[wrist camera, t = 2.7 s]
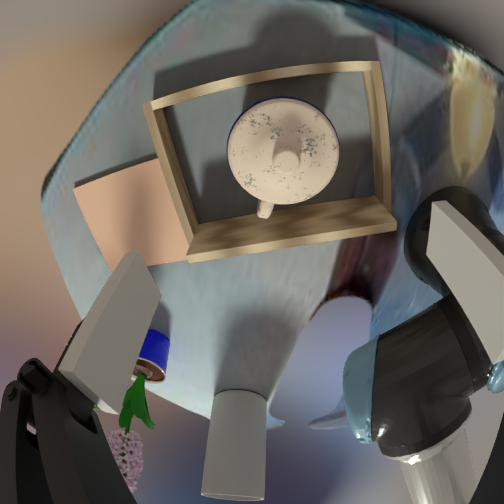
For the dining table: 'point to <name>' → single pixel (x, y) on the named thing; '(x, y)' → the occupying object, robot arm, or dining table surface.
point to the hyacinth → (138, 405)
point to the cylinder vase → (236, 447)
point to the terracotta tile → (133, 215)
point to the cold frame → (290, 219)
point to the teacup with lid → (282, 151)
